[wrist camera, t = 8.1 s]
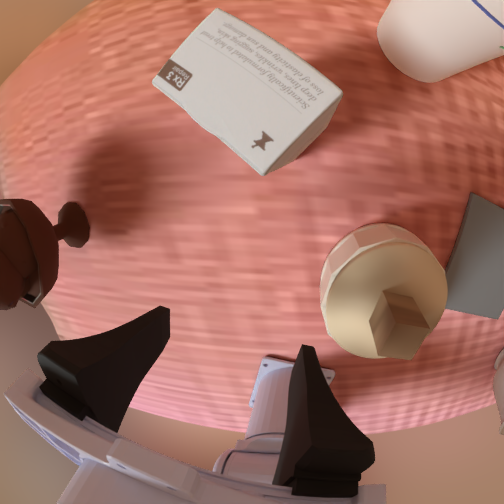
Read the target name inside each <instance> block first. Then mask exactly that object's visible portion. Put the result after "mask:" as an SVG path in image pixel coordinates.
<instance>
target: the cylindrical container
mask: <svg viewBox="0 0 504 504" xmlns="http://www.w3.org/2000/svg"><path fill="white" fill-rule="evenodd" d="M377 38H378V42H379V45H380V47H381V49H382V51H383V53H384V54H385V56H386V57H387V58H388V60H389V61H390V62H391V63H392V64H393V65H394V66H395V67H396V68H397V69H398V70H400V71H401V72H402V73H404V74H405V75H407V76H409V77H411V78H413V79H415V80H418V81H421V82H425V83H434V82H439V81H441V80H443V79H446V78H448V77H450V76H452V75H455V74H457V73H459V72H462V71H464V70H467V69H469V68H472V67H474V66H477V65H479V64H482V63H484V62H487V61H489V60H492V59H495V58H497V57H500V56H503V55H504V0H391V2H390V4H389V5H388V7H387V9H386V11H385V12H384V14H383V16H382V18H381V20H380V21H379V24H378V27H377Z"/></svg>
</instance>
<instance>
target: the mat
mask: <svg viewBox="0 0 504 504" xmlns="http://www.w3.org/2000/svg"><path fill="white" fill-rule="evenodd" d="M445 276H446V280H447V288H448V294H447V302H446V306H445V309H450V310H455V311H459V312H464V313H469V314H474V315H478V316H483V317H488V318H493V319H498V318H499V317H500V315H501V313H502V311H503V309H504V209H502V208H501V207H499V206H497V205H495V204H493V203H491V202H490V201H488V200H486V199H484V198H482V197H480V196H478V195H476V194H474V193H470V197H469V201H468V205H467V208H466V212H465V215H464V219H463V222H462V225H461V228H460V231H459V234H458V237H457V240H456V243H455V246H454V249H453V251H452V254H451V257H450V259H449V262H448V264H447V267H446V269H445Z"/></svg>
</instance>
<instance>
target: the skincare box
mask: <svg viewBox="0 0 504 504" xmlns="http://www.w3.org/2000/svg"><path fill="white" fill-rule="evenodd" d="M152 84H153V85H154V86H155V87H156V88H158V89H159V90H160V91H162V92H163V93H164V94H166V95H167V96H168V97H169V98H171V99H172V100H173V101H174V102H176V103H177V104H178V105H179V106H181V107H182V108H183V109H184V110H186V111H187V113H188V114H189V115H190V116H191V117H192V119H194V120H195V121H196V122H197V123H198V124H199V125H200V126H201V127H203V128H204V129H205V130H207V131H208V132H210V133H212V134H213V135H215V136H217V137H218V138H219V139H220V140H221V141H222V142H224V143H225V144H226V145H227V146H228V147H229V148H231V149H232V150H233V151H234V152H235V153H236V154H237V155H238V156H240V157H241V158H242V159H243V160H244V161H245V162H247V163H248V164H249V165H250V166H251V167H252V168H253V169H254V170H256V171H257V172H258V173H259V174H260V175H262V176H265V175H267V174H268V173H270V172H272V171H275V170H277V169H279V168H281V167H283V166H285V165H287V164H289V163H291V162H293V161H294V160H295V159H296V158H297V157H298V156H299V155H300V154H301V153H302V152H303V151H304V150H305V149H306V148H307V147H308V146H309V145H310V144H311V143H312V142H313V141H314V140H315V139H316V138H317V137H318V136H319V135H320V134H321V133H322V132H323V131H324V130H325V129H326V128H327V126H328V124H329V122H330V120H331V118H332V116H333V114H334V112H335V110H336V109H337V106H338V104H339V102H340V101H341V99H342V97H343V91H342V90H341V89H340V88H339V87H338V86H336V85H335V84H334V83H333V82H332V81H330V80H329V79H328V78H327V77H325V76H324V75H323V74H322V73H320V72H319V71H318V70H317V69H315V68H314V67H313V66H311V65H310V64H309V63H307V62H306V61H305V60H303V59H302V58H301V57H299V56H298V55H296V54H295V53H294V52H292V51H291V50H289V49H288V48H286V47H285V46H283V45H282V44H280V43H279V42H277V41H276V40H274V39H273V38H271V37H270V36H268V35H266V34H265V33H263V32H261V31H260V30H258V29H256V28H255V27H253V26H251V25H249V24H248V23H246V22H244V21H242V20H240V19H238V18H237V17H235V16H233V15H231V14H229V13H227V12H225V11H223V10H221V9H219V8H216V9H215V10H214V11H213V12H212V13H211V14H210V15H209V16H208V17H206V18H205V19H204V20H203V21H202V22H201V23H200V24H199V25H198V26H197V28H196V29H195V30H194V31H193V32H192V33H191V34H190V35H189V36H188V37H187V38H186V40H185V41H184V42H183V43H182V44H181V45H180V47H179V48H178V49H177V50H176V51H175V52H174V54H173V55H172V56H171V57H170V59H169V60H168V61H167V62H166V64H165V65H164V66H163V67H162V69H161V70H160V71H159V73H158V74H157V75H156V76H155V78H154V79H153V80H152Z"/></svg>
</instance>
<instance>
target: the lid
mask: <svg viewBox="0 0 504 504" xmlns="http://www.w3.org/2000/svg"><path fill="white" fill-rule="evenodd" d="M447 294H448V288H447V280H446V276H445V274H444V271H443V269H442V268H441V266H440V264H439V263H438V262H437V261H436V260H435V258H434V257H433V256H432V255H430V254H429V253H428V252H427V251H426V250H424V249H422V248H421V247H419V246H416V245H414V244H410V243H406V242H388V243H383V244H379V245H376V246H373V247H370V248H368V249H366V250H364V251H362V252H361V253H359V254H358V255H356V256H355V257H353V258H352V259H351V260H350V261H349V262H348V263H347V264H346V265H345V266H344V267H343V268H342V269H341V270H340V272H339V273H338V274H337V276H336V277H335V279H334V281H333V282H332V285H331V287H330V289H329V292H328V296H327V302H326V318H327V324H328V328H329V331H330V333H331V335H332V337H333V338H334V340H335V341H336V342H337V343H338V344H339V345H340V346H341V347H342V348H343V349H345V350H346V351H348V352H350V353H352V354H354V355H357V356H360V357H364V358H373V359H374V358H387V357H389V358H397V359H405V360H412V358H413V357H414V355H415V354H416V352H417V350H418V349H419V347H420V346H421V344H422V342H423V340H424V339H425V338H426V337H427V336H428V335H429V334H430V333H431V332H432V331H433V329H434V328H435V327H436V325H437V324H438V322H439V320H440V319H441V316H442V314H443V312H444V309H445V306H446V302H447Z"/></svg>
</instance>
